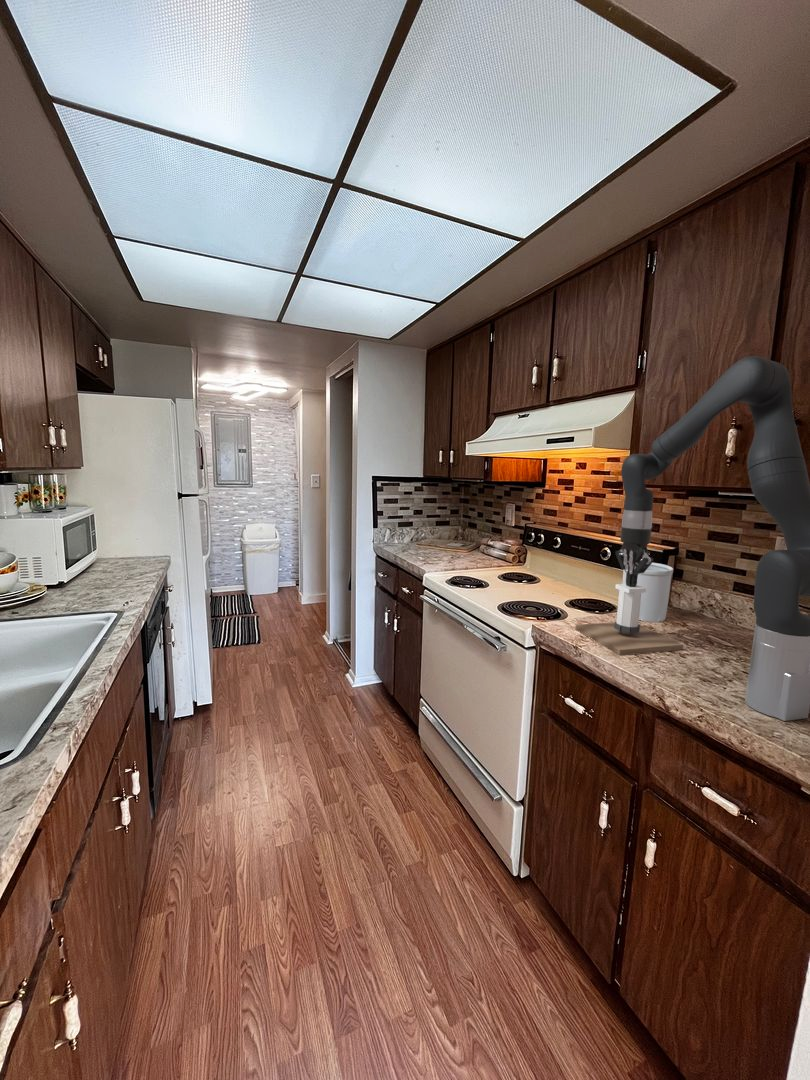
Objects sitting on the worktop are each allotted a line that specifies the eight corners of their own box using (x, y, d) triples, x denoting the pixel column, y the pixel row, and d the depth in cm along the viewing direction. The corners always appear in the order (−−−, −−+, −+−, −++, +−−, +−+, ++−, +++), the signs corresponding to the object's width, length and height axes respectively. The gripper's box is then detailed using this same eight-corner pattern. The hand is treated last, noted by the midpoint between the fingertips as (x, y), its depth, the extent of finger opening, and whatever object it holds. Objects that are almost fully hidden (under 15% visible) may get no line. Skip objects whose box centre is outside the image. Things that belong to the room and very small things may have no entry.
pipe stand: (682, 649, 123) (688, 600, 121) (619, 655, 118) (623, 604, 116) (631, 625, 142) (635, 582, 140) (575, 629, 138) (578, 585, 136)
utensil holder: (673, 625, 143) (679, 571, 141) (623, 620, 147) (627, 568, 144) (661, 611, 157) (666, 563, 155) (615, 607, 161) (619, 560, 159)
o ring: (644, 632, 127) (644, 626, 127) (624, 633, 126) (625, 628, 126) (628, 624, 134) (629, 619, 133) (609, 626, 132) (610, 620, 132)
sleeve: (642, 626, 127) (646, 588, 126) (625, 627, 126) (629, 589, 125) (628, 620, 133) (632, 583, 131) (612, 621, 132) (615, 584, 130)
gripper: (666, 529, 120) (659, 591, 122) (631, 523, 132) (626, 580, 135) (642, 529, 118) (636, 593, 121) (609, 523, 131) (604, 581, 133)
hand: (630, 586), depth 128 cm, fingers closed
